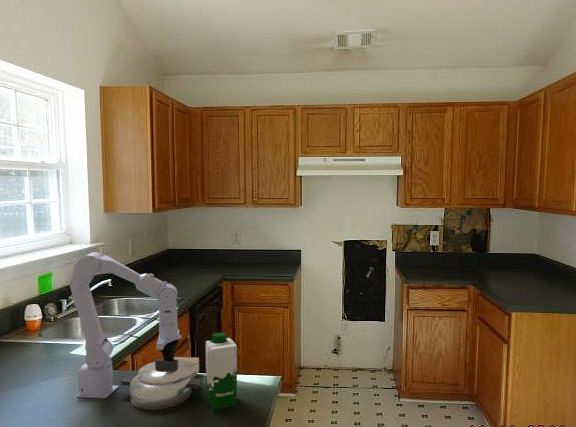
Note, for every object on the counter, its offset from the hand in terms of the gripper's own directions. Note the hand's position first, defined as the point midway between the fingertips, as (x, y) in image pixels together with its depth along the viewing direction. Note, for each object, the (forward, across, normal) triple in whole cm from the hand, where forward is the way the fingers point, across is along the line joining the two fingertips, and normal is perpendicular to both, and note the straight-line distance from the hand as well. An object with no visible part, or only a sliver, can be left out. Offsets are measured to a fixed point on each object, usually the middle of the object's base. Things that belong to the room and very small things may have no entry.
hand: (169, 363), depth 138 cm
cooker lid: (+2, -2, 0) cm, 3 cm away
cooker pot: (+7, -2, 0) cm, 8 cm away
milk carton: (+8, -10, -20) cm, 23 cm away
